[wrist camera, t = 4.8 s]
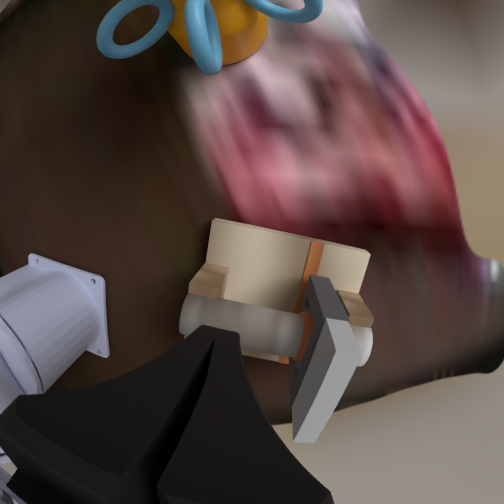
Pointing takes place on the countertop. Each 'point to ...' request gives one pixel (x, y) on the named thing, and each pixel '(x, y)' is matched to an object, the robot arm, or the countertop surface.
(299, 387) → the grey bent plate
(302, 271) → the pipe rig
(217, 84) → the countertop surface
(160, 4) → the yellow blue ringed piece
